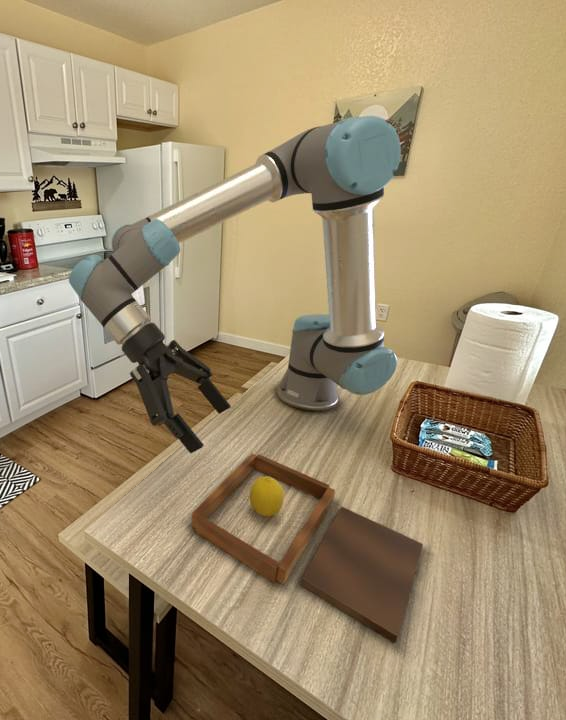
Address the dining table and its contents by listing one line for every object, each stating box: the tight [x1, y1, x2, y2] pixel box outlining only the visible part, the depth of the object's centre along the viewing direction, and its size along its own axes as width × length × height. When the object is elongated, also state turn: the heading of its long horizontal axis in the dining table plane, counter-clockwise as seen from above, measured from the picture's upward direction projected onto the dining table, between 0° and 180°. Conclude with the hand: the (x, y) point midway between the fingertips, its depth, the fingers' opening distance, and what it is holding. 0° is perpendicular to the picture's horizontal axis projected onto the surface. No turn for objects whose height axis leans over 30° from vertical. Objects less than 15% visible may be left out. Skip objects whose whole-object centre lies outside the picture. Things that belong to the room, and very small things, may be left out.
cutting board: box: [300, 506, 424, 644], centre depth 58 cm, size 18×12×2 cm, turn 138°
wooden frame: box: [191, 453, 336, 586], centre depth 67 cm, size 22×16×3 cm
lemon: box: [249, 476, 284, 517], centre depth 66 cm, size 6×6×8 cm
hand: (212, 428), depth 67 cm, fingers open, 13 cm apart
